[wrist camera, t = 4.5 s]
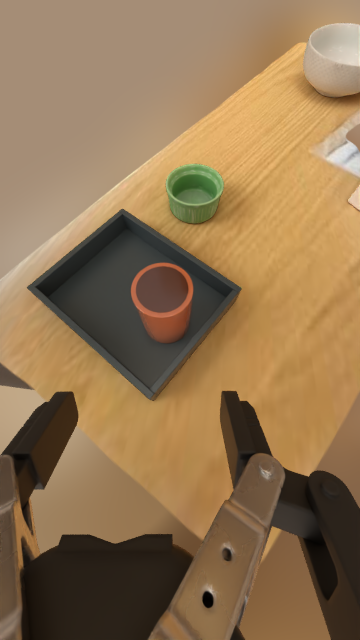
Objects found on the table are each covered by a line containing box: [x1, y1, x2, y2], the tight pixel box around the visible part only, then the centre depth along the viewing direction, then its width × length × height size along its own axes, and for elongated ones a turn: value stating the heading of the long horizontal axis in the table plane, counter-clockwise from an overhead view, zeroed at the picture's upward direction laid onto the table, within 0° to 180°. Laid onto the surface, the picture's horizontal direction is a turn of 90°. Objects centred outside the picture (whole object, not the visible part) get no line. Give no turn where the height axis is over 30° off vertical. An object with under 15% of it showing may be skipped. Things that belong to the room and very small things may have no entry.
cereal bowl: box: [303, 23, 360, 98], centre depth 49 cm, size 17×17×7 cm
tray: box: [27, 209, 242, 401], centre depth 31 cm, size 18×22×4 cm
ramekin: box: [166, 164, 224, 223], centre depth 38 cm, size 9×9×4 cm
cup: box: [131, 263, 193, 343], centre depth 27 cm, size 6×6×9 cm
